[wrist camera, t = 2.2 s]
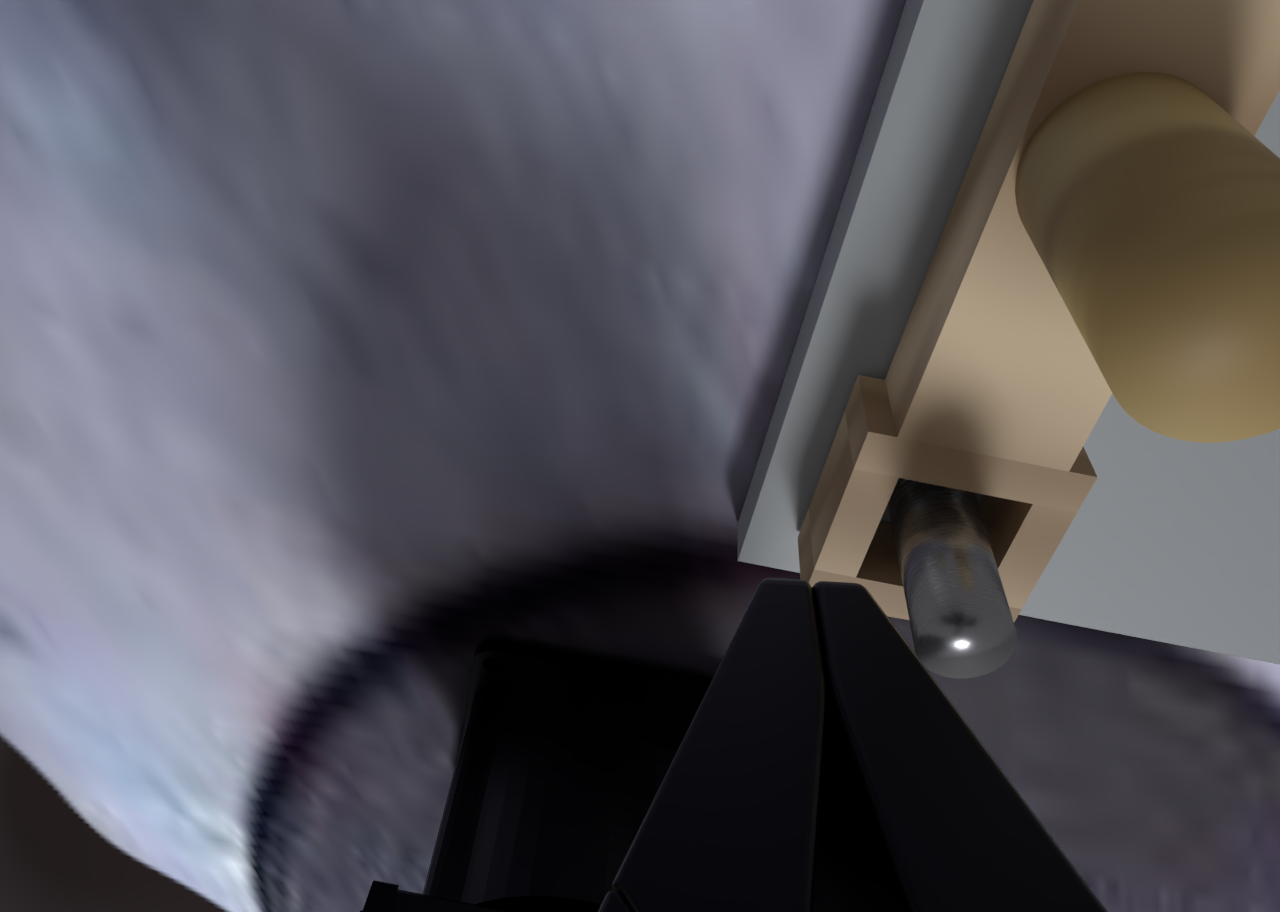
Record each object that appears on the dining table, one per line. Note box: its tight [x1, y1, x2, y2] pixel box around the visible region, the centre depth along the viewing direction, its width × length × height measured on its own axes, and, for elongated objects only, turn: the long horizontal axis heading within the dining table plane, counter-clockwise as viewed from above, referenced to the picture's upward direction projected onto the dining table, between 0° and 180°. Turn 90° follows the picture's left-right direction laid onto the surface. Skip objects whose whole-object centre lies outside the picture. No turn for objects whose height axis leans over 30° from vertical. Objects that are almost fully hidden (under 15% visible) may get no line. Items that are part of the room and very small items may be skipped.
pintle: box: [888, 478, 1018, 679], centre depth 19 cm, size 2×2×4 cm
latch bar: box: [798, 0, 1280, 622], centre depth 15 cm, size 14×4×6 cm, turn 169°
